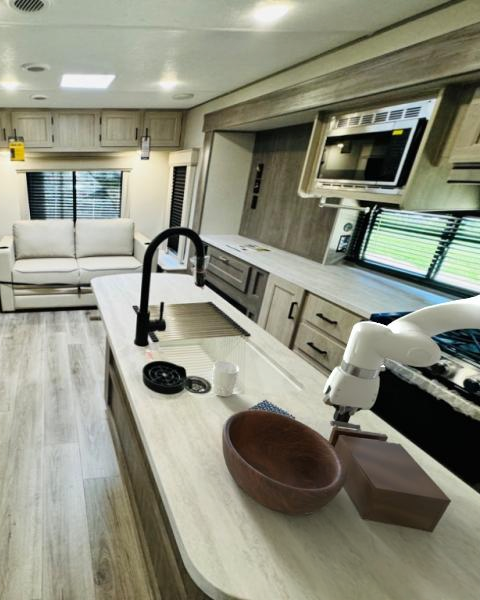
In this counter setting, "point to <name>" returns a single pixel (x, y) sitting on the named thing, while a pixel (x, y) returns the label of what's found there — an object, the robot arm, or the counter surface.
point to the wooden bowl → (281, 461)
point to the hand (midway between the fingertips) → (339, 422)
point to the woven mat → (270, 408)
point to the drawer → (352, 432)
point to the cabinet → (390, 484)
